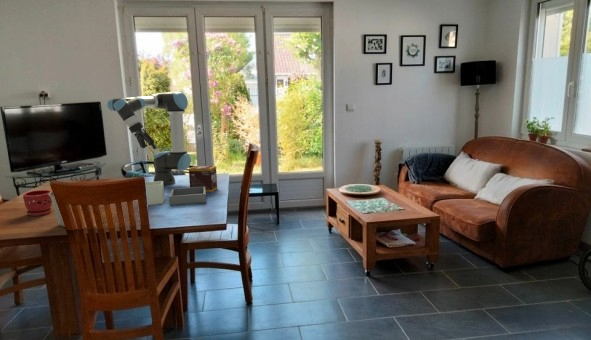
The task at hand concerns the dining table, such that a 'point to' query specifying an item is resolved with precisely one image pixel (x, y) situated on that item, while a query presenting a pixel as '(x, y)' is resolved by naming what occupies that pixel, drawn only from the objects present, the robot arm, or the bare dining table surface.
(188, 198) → the large crate
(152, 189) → the small crate
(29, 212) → the plant pot
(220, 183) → the dining table surface
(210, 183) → the supplement box
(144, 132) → the robot arm
